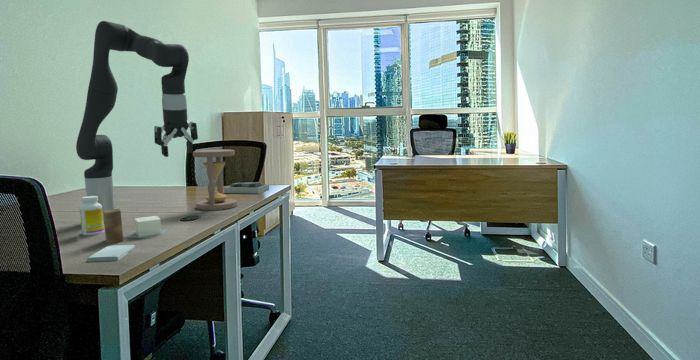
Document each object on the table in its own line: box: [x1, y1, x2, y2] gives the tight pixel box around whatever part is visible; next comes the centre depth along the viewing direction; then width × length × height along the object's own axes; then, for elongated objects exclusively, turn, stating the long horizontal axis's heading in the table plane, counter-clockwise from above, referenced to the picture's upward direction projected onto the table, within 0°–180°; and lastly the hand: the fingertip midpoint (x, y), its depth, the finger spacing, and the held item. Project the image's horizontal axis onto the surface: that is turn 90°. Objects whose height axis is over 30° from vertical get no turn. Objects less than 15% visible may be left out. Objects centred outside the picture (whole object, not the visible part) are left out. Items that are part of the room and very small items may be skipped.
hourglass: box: [192, 149, 238, 211], centre depth 198 cm, size 18×18×25 cm
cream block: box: [134, 215, 162, 237], centre depth 151 cm, size 7×7×5 cm
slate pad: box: [123, 228, 172, 239], centre depth 151 cm, size 11×12×1 cm
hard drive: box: [86, 244, 136, 262], centre depth 129 cm, size 2×8×12 cm
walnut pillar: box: [103, 208, 124, 244], centre depth 142 cm, size 4×4×10 cm
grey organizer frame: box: [223, 183, 270, 195], centre depth 244 cm, size 20×15×3 cm
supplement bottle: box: [79, 195, 105, 236], centre depth 153 cm, size 7×7×13 cm
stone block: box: [230, 181, 262, 188], centre depth 243 cm, size 9×14×5 cm, turn 78°
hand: (177, 154), depth 153 cm, fingers open, 8 cm apart
